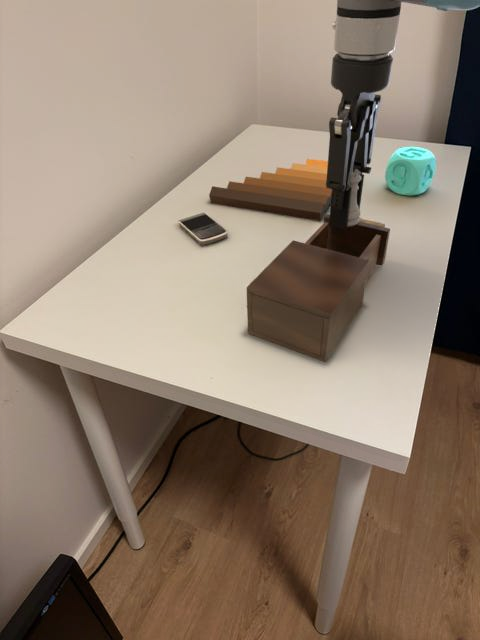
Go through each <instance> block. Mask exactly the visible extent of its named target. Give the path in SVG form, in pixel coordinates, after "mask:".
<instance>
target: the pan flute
mask: <svg viewBox="0 0 480 640" xmlns="http://www.w3.org/2000/svg"><path fill="white" fill-rule="evenodd" d="M327 167H328V160H320V159H313V158H306V161H305V163H296V162H292V163H291V166H290V168H286V167H279V166H278V167H276V171H275V173H273V172H266V171H261V173H260V175H259V177H253V176H245V177H244V181H243V182H238V181H237V182H236V181H230V180H229V181H228V184H227V187H219V186H211V189H210V191H209V194H208V196H209V200H210V203H211V204H217V205H222V206H230V207H236V208H242V209H245V210H246V209H247V210H253V211H259V212H264V213H272V214H277V215H284V216H289V217H295V218H296V217H297V218H301V219H308V220H314V221H319V222H321V221H322V219H324V216H325V214H326V213H327V211H328V210H329V207H331V196H332V189H329V188H326V181H327Z"/></svg>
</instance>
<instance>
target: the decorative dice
mask: <svg viewBox="0 0 480 640" xmlns="http://www.w3.org/2000/svg"><path fill="white" fill-rule="evenodd" d="M436 168H437V159H436V157H435V155H434V154H433V152H432V151H430V150H429V149H427V148H424V147H418V146H404V147H400V148H398V149H396V150H395V151H394V152H393V153H392V155H391V156H390V158H389V160H388V162H387V164H386V168H385V173H384V181H385V183H386V186H387V187H388V188H389V190H391V191H392V192H393V193H395V194H398V195H402V196H419V195H421V194H423V193H424V192H426V191H427V189H428V188H429V186H430V185H431V183H432V181H433V179H434V176H435V172H436Z"/></svg>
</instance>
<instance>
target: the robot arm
mask: <svg viewBox="0 0 480 640" xmlns="http://www.w3.org/2000/svg"><path fill="white" fill-rule="evenodd" d="M402 3H405V4H411V5H418V6H424V7H428V8H429V7H430V8H433V9H434V8H435V9H437V11H444V12H448V11H452V10H453V11H457V10H458V11H472V10H474V9H478V8H479V7H480V0H337V1H336V17H335V21H333V23H332V26H331V27H332V29H333V30H334V41H333V42H334V43H333V49H334V51H335V52H336V54H334V55H333V57H332V63H331V74H330V75H331V76H330V86H331V87H332V88H334V89H335V90H338V91H339V92H340V93H341V98H340V103H338V107H337V113H336V115H337V117H330V119H329V122H328V129H329V130H328V131H329V143H328V154H327V155H328V156H327V161H328V167H327V181H326V188H329V189H332V196H331V205H330V206H329V207H330V208H329V209H330V210H329V215H330V218H329V226H332V227H336V228H340V229H344V230H345V229H346V228H347V224H348V216H349V208H350V200H351V191H352V188H351V187H350V181H351V175H352V170H353V172H355V169H357V170H358V171H360V176H361V177H362V179H361V180H360V182H359V183H358V187H359V189H358V190H357V205H358V206H359V210H360V209H361V203H362V195H363V187H364V179H365V174H367V175H369V174H371V172H372V167H370V166H368V165H370V164H371V162H372V155H373V149H374V143H375V142H374V141H375V137H376V136H375V134H376V130H377V129H376V128H377V123H378V122H377V121H378V114H379V109H380V105H381V102H382V94H376V93H378V92H381V91H384V90H386V89H387V88H388V87H389V86H390V82H391V77H392V76H391V75H392V69H393V62H394V57H393V56H392V54H391V53H393V52H394V51H395V50H396V46H397V45H396V44H397V38H398V37H397V36H398V32H399V31H398V29H399V25H400V17H401V10H402ZM360 211H361V210H360Z"/></svg>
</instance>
